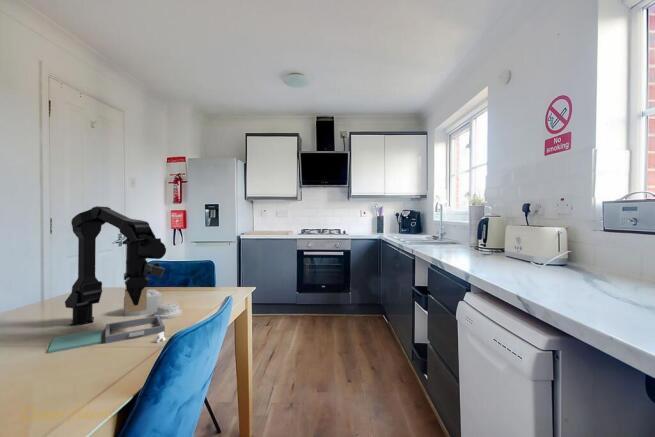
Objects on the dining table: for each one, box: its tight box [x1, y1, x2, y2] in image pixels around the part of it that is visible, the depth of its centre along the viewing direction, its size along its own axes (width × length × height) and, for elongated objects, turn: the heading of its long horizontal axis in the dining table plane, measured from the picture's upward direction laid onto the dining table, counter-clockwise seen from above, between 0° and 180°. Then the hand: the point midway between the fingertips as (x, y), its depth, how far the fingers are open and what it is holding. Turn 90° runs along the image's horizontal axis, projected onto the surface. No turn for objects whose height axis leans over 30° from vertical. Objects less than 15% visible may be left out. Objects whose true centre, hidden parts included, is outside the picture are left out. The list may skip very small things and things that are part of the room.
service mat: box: [47, 329, 103, 354], centre depth 92 cm, size 12×12×1 cm
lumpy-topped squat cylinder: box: [123, 288, 163, 317], centre depth 123 cm, size 10×13×9 cm
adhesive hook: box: [153, 332, 166, 344], centre depth 93 cm, size 3×3×3 cm
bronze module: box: [124, 286, 148, 313], centre depth 101 cm, size 4×6×8 cm
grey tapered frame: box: [104, 315, 166, 344], centre depth 101 cm, size 15×16×2 cm
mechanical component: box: [153, 302, 183, 320], centre depth 119 cm, size 10×4×10 cm
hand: (135, 303), depth 101 cm, fingers closed on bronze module, 4 cm apart
